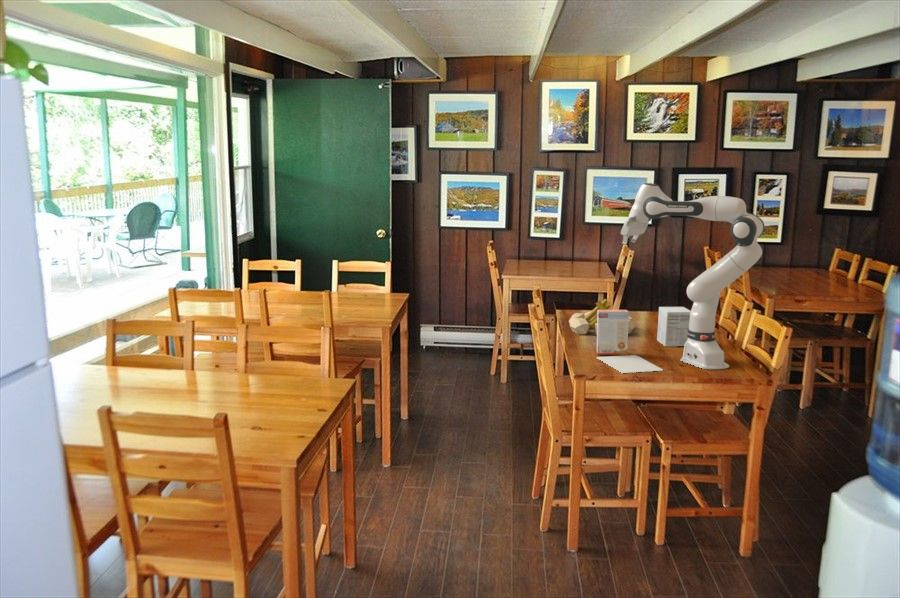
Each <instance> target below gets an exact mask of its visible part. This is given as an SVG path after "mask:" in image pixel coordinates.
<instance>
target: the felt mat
mask: <svg viewBox="0 0 900 598" xmlns="http://www.w3.org/2000/svg"><path fill="white" fill-rule="evenodd" d="M595 359H598V361H600V360H601V361H600V362H602V361H603V362H602V363H603V364H605V363H606V365H607V364H608V365H607V366H609V367H610V366H611V367H610V368H612V367H613V368H614V370H615V369H616V370H615V371H617V370H618V371H619V372H618V371H617V372H618V373H620V372H621V373H620V374H622V375H623V373H627V374H639V373H638V372H642V373H654V372H653V371H658V372H664V371H663V370H664V369H663V368H661V367H659V366H657V365H656V364H653V363H652V362H650V361H648V360H646V359H644V358H643V357H640V356H638V355H636V354H627V355H607V356H596V358H595ZM613 368H612V369H613ZM636 372H637V373H636Z"/></svg>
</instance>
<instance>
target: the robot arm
mask: <svg viewBox="0 0 900 598" xmlns="http://www.w3.org/2000/svg"><path fill="white" fill-rule="evenodd" d="M669 216H677V217H678V216H679V217H680V216H682V217H692V218H697V219H701V220H705V221H711V222H712V221H713V222H728V223H730V224H731V226H730V229H729V230H730V234H731V236H732V238H733V240H734V242H735V245H736V246H735V247H734V248H733V249H731V250H729V252H727V253H726V254H725V255H723V257H722V258H720V259H719V260H718V261H716V262H715V263H714V264H713V265H711V266H710V267H708V268H707V269H706V270H704V271H703V272H702V273H701V274H699V275H698V276H697V277H695V278H694V279H693V280H691V282H689V284H688V286H687V287H686V295H687V298H688V299H689V300H690V301H691V302H693V303H692V307H691V309H690V320H689V329H688V332H687V337H688V339H687V341H686V343H685V346H684V347H683V350H682V351H683V352H682V353H683V354H682V357H681V358H680V360H679V361H680V362H682V361H683V362H682V363H685V364H687V363H688V365H690V364H691V365H690V366H693V365H694V366H693V367H696V368H698V367H699V368H698V369H701V368H702V370H724V369H728V368H730V365H729V364H728V363H726V362H725V351H724V350H723V349H721V347H720V346H719V343H718V342H717V341H716V340H717V339H718V335H717V334H716V330H715V326H716V324H715V323H716V316H717V315H716V313H717V310H718V306H719V301H720V298H721V297H720V296H721V293H722V291H723V290H724V289H725V288H727V287H728V286H729V285H731V284H733V282H735V281H736V280H737V279H739V278H740V277H741V276H742V275H744V274H745V273H746V272H747V271H748V270H749V269H751V268H752V267H753V266H754V265H755V264H757V262H758V261H759V260H760V258H762V255H763V249H762V247H761V245H760V244H759V243H758V238H760V237H761V236H762V235H763V234H764V231H765V228H766V227H765V223H764V221H763V219H761V218H760V216H758V215H756V214H755V213H753V212H751V211H747V204H746V203H745V201H744V200H743V199H742V198H739V197H734V196H730V195H729V196H727V195H711V196H705V197H700V198H696V199H692V200H686V201H685V200H683V201H682V200H681V201H679V200H678V201H677V200H673V199H672V198H671V197H669V196H668V195H666V194H665V193H664V192H663V191H662V189H661V188H660V185H658V184H656V183H651V182H645V183H643V184H641V185H640V187H639V189H638V190H637V193H636V195H635V198H634V203H633V205H632V206H631V209H630V212H629V214H628V219H626V220H625V221H624V224H623V226H622V228H621V230H620V235H621V236H622V237H623V238H622V242H621V244H623V245H627V244H628V241H629V240H628V239H629V238H630V237H632V236H633V237H632V238H631V240H630V242H631V243H633V244H635V243H636V242H637V239H638V238H639V237H640V235H643V234H644V233H645V232H646V230H647V228H648V225H649V224H650V222H651V221H652V220H656V219H660V218H665V217H669Z"/></svg>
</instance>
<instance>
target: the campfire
mask: <svg viewBox="0 0 900 598" xmlns="http://www.w3.org/2000/svg"><path fill="white" fill-rule="evenodd" d="M595 305H596V306H595V307H594V308H593V309H592V310H590V311H587V312H585V313H581V312H575V313H573V314H572V315H571V317H570V318H569V320H568V323H569V327H570V329H571V331H573V332H572V333H574V332H575V333H574V334H576V333H577V334H576V335H579V334H581V335H586V334H587V333H588V331H589V329H594V327H595V334H596V335H597V310H612V309H611V307H612V306H613V303H611V302H610V301H608V300H607V299H606V298H604V299H603V300H602V301H601V300H598V301H597V302H596V303H595ZM634 329H635V325H634V323H633V317H631V316H629V317H628V334H629V335H630V334H631V333H632V331H634Z"/></svg>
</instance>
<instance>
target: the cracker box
mask: <svg viewBox="0 0 900 598" xmlns="http://www.w3.org/2000/svg"><path fill="white" fill-rule="evenodd" d="M628 317H629V310H628V309H611V310H597V334H596V354H597V355H599V356H602V355H603V356H605V355H607V356H624V355H629V354H628V352H629V351H628V348H629V347H628V346H629V335H628Z"/></svg>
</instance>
